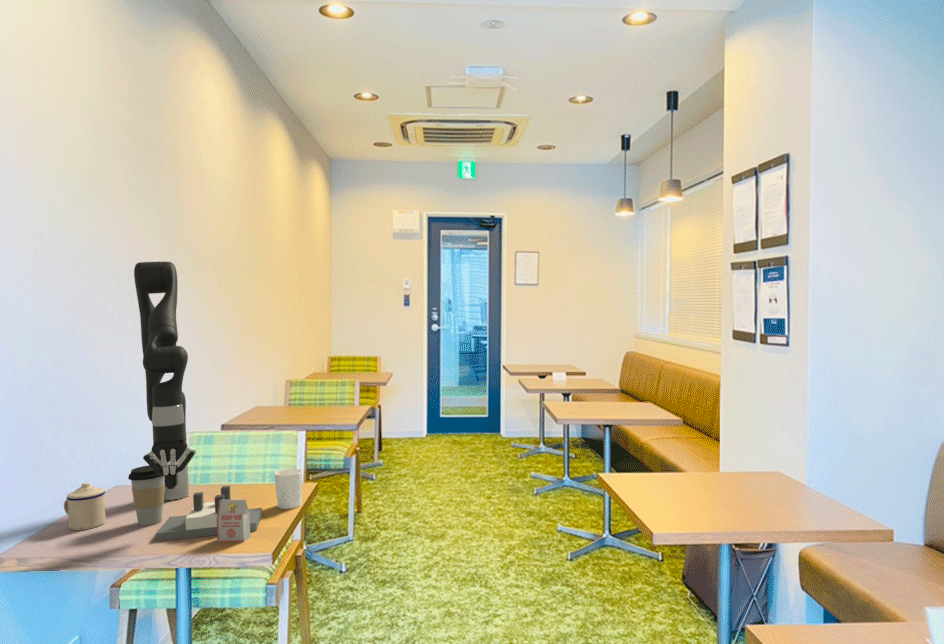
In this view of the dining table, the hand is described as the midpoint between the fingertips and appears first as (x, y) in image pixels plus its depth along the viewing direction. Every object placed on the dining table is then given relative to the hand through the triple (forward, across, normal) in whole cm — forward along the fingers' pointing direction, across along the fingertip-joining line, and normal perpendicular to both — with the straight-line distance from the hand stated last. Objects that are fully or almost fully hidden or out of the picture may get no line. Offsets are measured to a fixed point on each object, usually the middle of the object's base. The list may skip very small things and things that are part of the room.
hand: (171, 488), depth 164 cm
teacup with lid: (+11, +26, -14) cm, 32 cm away
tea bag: (+12, -17, +11) cm, 23 cm away
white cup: (+12, -28, -13) cm, 34 cm away
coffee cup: (+12, +8, -10) cm, 18 cm away
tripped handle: (+6, -6, 0) cm, 9 cm away
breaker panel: (+12, -10, 0) cm, 15 cm away
